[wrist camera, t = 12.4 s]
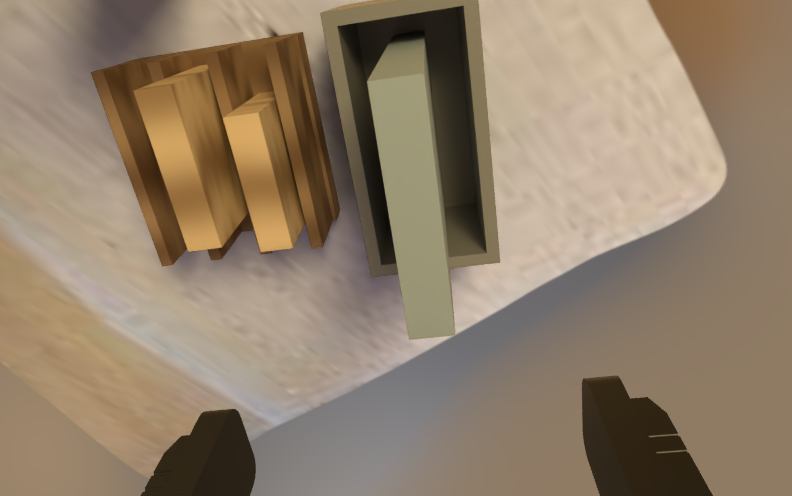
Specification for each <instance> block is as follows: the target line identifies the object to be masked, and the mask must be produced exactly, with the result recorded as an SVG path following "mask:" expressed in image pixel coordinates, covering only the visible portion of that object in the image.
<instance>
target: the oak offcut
mask: <svg viewBox="0 0 792 496" xmlns="http://www.w3.org/2000/svg"><path fill="white" fill-rule="evenodd" d="M133 92H134V95H135V98H136V100H137V103H138V106H139V109H140V112H141V115H142V118H143V121H144V124H145V127H146V130H147V133H148V135H149V138H150V141H151V144H152V147H153V150H154V153H155V156H156V159H157V162H158V165H159V168H160V171H161V173H162V176H163V179H164V182H165V185H166V188H167V191H168V194H169V197H170V200H171V203H172V206H173V208H174V211H175V214H176V217H177V220H178V223H179V226H180V229H181V232H182V235H183V238H184V241H185V244H186V246H187V249H188V252H190V251H198V250H206V249H214V248H222V247H223V245H224V244H225V243H226V241H227V240H228V239H229V237H230V236H231V235H232V233H233V232H234V231H235V229H236V228H237V227H238V225H239V224H240V223H241V221H242V220H243V219H244V218H245V216H246V215H247V214H248V212H249V210H248V207H247V203H246V200H245V196H244V193H243V189H242V186H241V182H240V179H239V175H238V171H237V168H236V164H235V161H234V157H233V154H232V150H231V147H230V143H229V140H228V136H227V133H226V129H225V125H224V122H223V118H222V115H221V111H220V108H219V104H218V101H217V97H216V94H215V90H214V87H213V83H212V79H211V76H210V72H209V69H208V65H200V66H197V67H194V68H191V69H189V70H186V71H184V72H181V73H178V74H176V75H173V76H171V77H168V78H165V79H163V80H160V81H157V82H155V83H152V84H150V85H147V86H144V87H142V88H139V89H136V90H134V91H133Z"/></svg>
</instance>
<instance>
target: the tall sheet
mask: <svg viewBox="0 0 792 496" xmlns="http://www.w3.org/2000/svg"><path fill="white" fill-rule="evenodd" d="M367 83H368V89H369V96H370V102H371V108H372V114H373V120H374V126H375V133H376V139H377V145H378V151H379V157H380V163H381V170H382V176H383V182H384V188H385V194H386V200H387V207H388V213H389V219H390V225H391V231H392V237H393V244H394V250H395V256H396V262H397V268H398V274H399V281H400V287H401V293H402V299H403V305H404V311H405V317H406V324H407V330H408V336H409V340H411V339H421V338H432V337H443V336H453V335H455V324H454V312H453V300H452V289H451V277H450V265H449V254H448V242H447V230H446V218H445V207H444V195H443V185H442V177H441V168H440V159H439V151H438V142H437V134H436V125H435V116H434V108H433V99H432V91H431V82H430V73H429V65H428V56H427V47H426V39H425V30H424V31H417V32H410V33H404V34H397V35H393V37H392V39H391V40H390V42H389V44H388V46H387V47H386V49H385V51H384V53H383V54H382V56H381V58H380V60H379V61H378V63H377V65H376V67H375V69H374V70H373V72H372V74H371V76H370V77H369V79H368V81H367Z"/></svg>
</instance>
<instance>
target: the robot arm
mask: <svg viewBox="0 0 792 496" xmlns="http://www.w3.org/2000/svg"><path fill="white" fill-rule="evenodd" d="M582 410H583V411H582V417H583V439H584V445H585V450H586V454H587V458H588V461H589V464H590V467H591V470H592V473H593V476H594V479H595V482H596V485H597V488H598V491H599V494H600V496H713V495H712V493H711V492H710V490H709V488H708V486H707V484H706V483H705V481H704V479H703V477H702V475H701V474H700V472H699V470H698V468H697V466H696V465H695V463H694V461H693V459H692V458H691V456H690V454H689V453H687V449H686V447H685V445H684V443H683V441H682V440H681V438H680V436H678V432H677V431H676V429H675V427H674V425H673V424H672V422H671V420H670V418H669V416H668V414H667V413H666V412H665V411H664V410H662V409H661V408H660V407H659V406H658V405H656V404H655V403H654V402H653V401H651V400H650V399H649V398H648V397H645V398H632V399H630V398H629V396H628V393H627V391H626V389H625V387H624V385H623V383H622V381H621V379H620V378H619V377H618V376H607V377H596V378H585V379H583V381H582ZM255 473H256V465H255V458H254V454H253V451H252V448H251V446H250V443H249V440H248V437H247V434H246V431H245V428H244V425H243V422H242V419H241V417H240V414H239V412H238V411H237V410H236V409H228V410H217V411H206V412H203V413H202V414H201V415H200V417H199V418H198V420H197V422H196V424H195V426H194V428H193V430H192V432H191V434H190V435H186V436H181V437H180V438H179V439H178V440H177V441H176V442H175V443H174V444H173V445H172V446H171V447H170V448H169V449H168V450H167V451H166V452H165V453H164V455H163V456H162V458H161V460H160V462H159V464H158V465H157V467H156V469H155V471H154V476H151V478H150V480H149V482H148V484H147V485H146V487H145V492H143V493H142V494H141V496H250V493H251V491H252V488H253V484H254V480H255Z"/></svg>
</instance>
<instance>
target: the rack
mask: <svg viewBox="0 0 792 496" xmlns="http://www.w3.org/2000/svg"><path fill="white" fill-rule="evenodd" d="M200 65H208V69H209V72H210V76H211V79H212V83H213V87H214V90H215V94H216V97H217V101H218V104H219V108H220V111H221V115H222V118H223V117H225V116H226V115H228V114H229V113H231V112H232V111H234V110H235V109H236V108H238V107H239V106H241V105H242V104H244V103H245V102H247V101H248V100H250V99H251V98H253V97H254V96H255V95H257V94H258V93H264V92H271V91H274V92H275V96H276V101H277V105H278V109H279V113H280V117H281V122H282V126H283V130H284V134H285V138H286V143H287V147H288V151H289V155H290V159H291V163H292V168H293V172H294V176H295V180H296V184H297V189H298V193H299V197H300V201H301V205H302V209H303V214H304V218H305V224H306V226H307V230H308V235H309V239H310V243H311V247H312V248H318V247H323V245H324V242H325V239H326V237H327V234H328V232H329V229H330V226H331V224H332V221H333V220H337V217H338V214H339V212H340V208H339V203H338V199H337V194H336V189H335V184H334V179H333V175H332V170H331V165H330V160H329V155H328V151H327V146H326V141H325V136H324V132H323V127H322V122H321V117H320V112H319V108H318V103H317V98H316V93H315V88H314V84H313V79H312V74H311V69H310V65H309V60H308V55H307V50H306V45H305V41H304V36H303V32H300V33H294V34H288V35H282V36H276V37H270V38H263V39H257V40H251V41H245V42H239V43H233V44H227V45H220V46H214V47H208V48H202V49H196V50H190V51H184V52H177V53H171V54H165V55H159V56H153V57H147V58H141V59H135V60H132V61H128V62H125V63H123V64H119V65H115V66H112V67H108V68H105V69H101V70H98V71H94V72H91V74H92V77H93V80H94V82H95V85H96V88H97V91H98V93H99V96H100V99H101V101H102V104H103V107H104V110H105V112H106V115H107V118H108V120H109V123H110V126H111V129H112V131H113V134H114V137H115V139H116V142H117V145H118V148H119V150H120V153H121V156H122V158H123V161H124V164H125V167H126V169H127V172H128V175H129V177H130V180H131V183H132V186H133V188H134V191H135V194H136V196H137V199H138V202H139V205H140V207H141V210H142V213H143V215H144V218H145V221H146V224H147V226H148V229H149V232H150V234H151V237H152V240H153V243H154V245H155V248H156V251H157V253H158V256H159V259H160V261H161V264H162V266H169V265H173V264H174V263H175V262H176V260H177V259H178V258H179V257H180V256H181V255H182V254H183V253H184V251H185V250H186V249H187V246H186V244H185V241H184V238H183V235H182V232H181V229H180V226H179V223H178V220H177V217H176V214H175V211H174V208H173V206H172V203H171V200H170V197H169V194H168V191H167V188H166V185H165V182H164V179H163V176H162V173H161V171H160V168H159V165H158V162H157V159H156V156H155V153H154V150H153V147H152V144H151V141H150V138H149V135H148V133H147V130H146V127H145V124H144V121H143V118H142V115H141V112H140V109H139V106H138V103H137V100H136V98H135V95H134V92H133V91H134V90H136V89H139V88H142V87H144V86H147V85H150V84H152V83H155V82H157V81H160V80H163V79H165V78H168V77H171V76H173V75H176V74H178V73H181V72H184V71H186V70H189V69H191V68H194V67H197V66H200ZM223 122H224V120H223ZM224 125H225V124H224ZM225 129H226V127H225ZM226 133H227V131H226ZM227 136H228V134H227ZM228 140H229V138H228ZM229 143H230V141H229ZM230 147H231V145H230ZM231 150H232V148H231ZM232 154H233V152H232ZM233 157H234V155H233ZM234 161H235V159H234ZM235 164H236V163H235ZM236 168H237V166H236ZM237 171H238V170H237ZM238 175H239V173H238ZM239 179H240V177H239ZM240 182H241V180H240ZM241 186H242V184H241ZM242 189H243V187H242ZM243 193H244V191H243ZM244 196H245V194H244ZM245 200H246V198H245ZM246 203H247V201H246ZM247 207H248V205H247ZM248 210H249V209H248ZM250 230H254V226H253V223H252V219H251V216H250V212H248V214H247V215H246V216H245V218H244V219H243V220H242V221H241V223H240V224H239V225H238V227H237V228H236V229H235V231H234V232H233V233H232V235H231V236H230V237H229V239H228V240H227V241H226V243H225V244H224V245H223V247H222V248H214V249H208V252H209V255H210V258H211V260H219V259H222V258H223V256H224V255H225V254H226V252H227V251H228V250H229V248H230V247H231V245H232V244H233V243H234V241H235V240H236V239H237V237H238V236H239V234H240V233H241V232H242V231H250ZM254 232H255V230H254ZM255 235H256V233H255ZM256 239H257V237H256ZM257 242H258V240H257ZM258 246H259V244H258ZM259 249H260V248H259ZM260 253H261V254H269V253H272V251H266V252H261V251H260Z"/></svg>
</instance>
